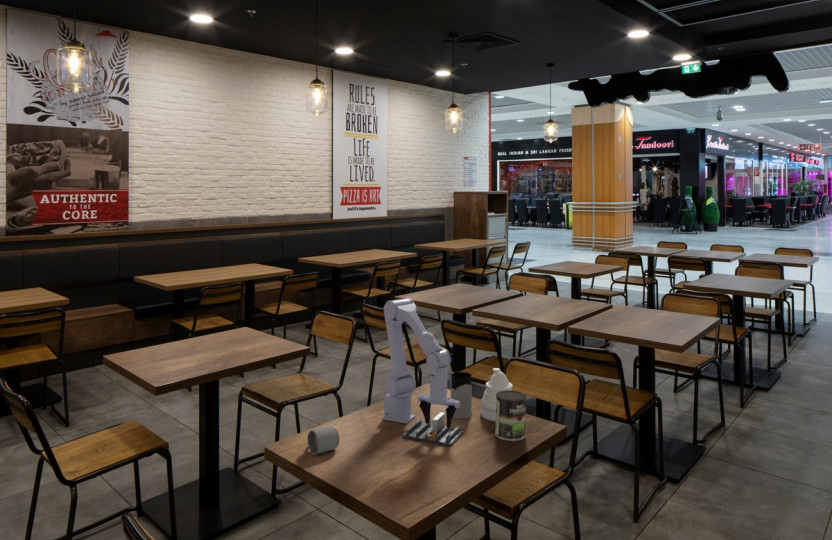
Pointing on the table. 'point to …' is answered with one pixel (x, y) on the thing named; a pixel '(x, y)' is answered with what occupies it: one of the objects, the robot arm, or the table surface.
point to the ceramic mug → (322, 440)
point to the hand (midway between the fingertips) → (438, 424)
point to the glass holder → (462, 393)
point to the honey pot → (493, 394)
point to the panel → (438, 423)
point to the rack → (425, 434)
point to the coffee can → (510, 415)
